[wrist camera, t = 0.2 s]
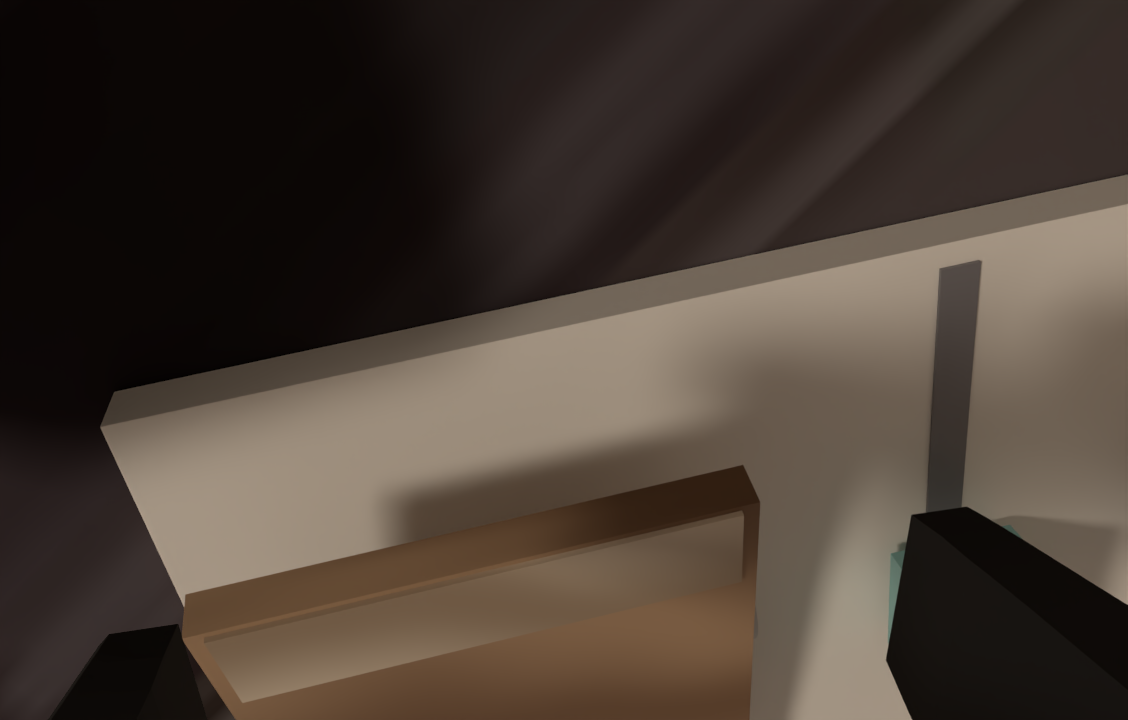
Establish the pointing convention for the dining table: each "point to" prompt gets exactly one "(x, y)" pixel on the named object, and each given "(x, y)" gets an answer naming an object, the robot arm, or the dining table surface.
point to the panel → (699, 423)
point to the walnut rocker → (507, 618)
